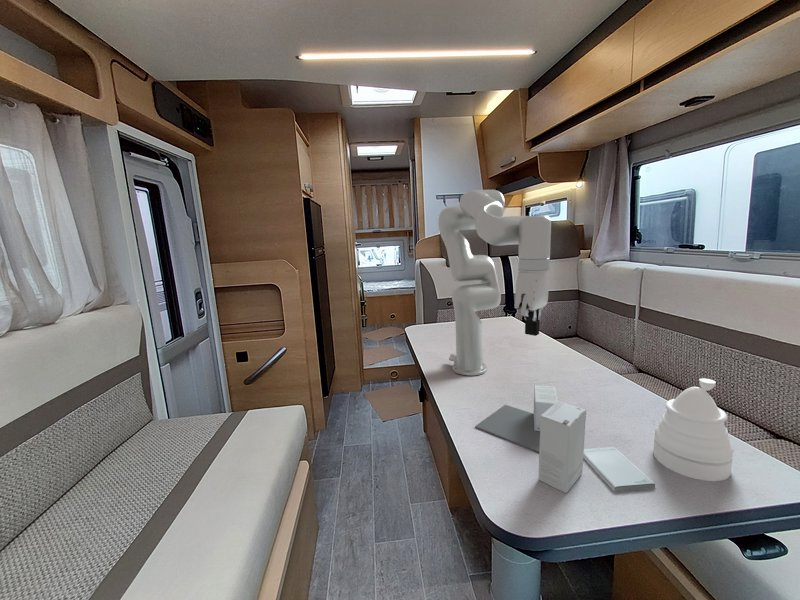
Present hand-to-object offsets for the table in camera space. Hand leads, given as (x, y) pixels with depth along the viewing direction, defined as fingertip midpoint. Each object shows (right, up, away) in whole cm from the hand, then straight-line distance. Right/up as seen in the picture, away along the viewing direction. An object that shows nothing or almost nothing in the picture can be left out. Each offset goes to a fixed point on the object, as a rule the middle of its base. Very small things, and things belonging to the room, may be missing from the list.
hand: (532, 334), depth 95 cm
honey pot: (+27, -25, -19) cm, 41 cm away
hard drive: (+10, -27, -20) cm, 35 cm away
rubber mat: (-3, -24, -3) cm, 24 cm away
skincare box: (-2, -28, -22) cm, 35 cm away
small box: (+4, -18, +3) cm, 19 cm away
